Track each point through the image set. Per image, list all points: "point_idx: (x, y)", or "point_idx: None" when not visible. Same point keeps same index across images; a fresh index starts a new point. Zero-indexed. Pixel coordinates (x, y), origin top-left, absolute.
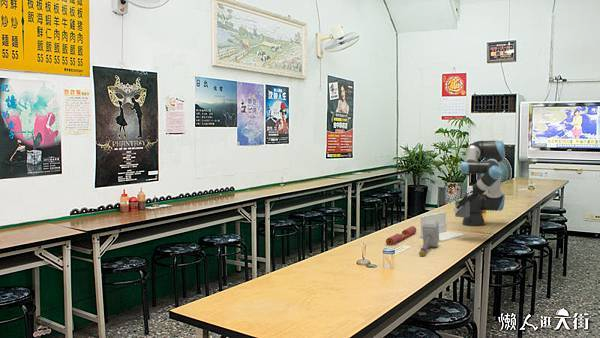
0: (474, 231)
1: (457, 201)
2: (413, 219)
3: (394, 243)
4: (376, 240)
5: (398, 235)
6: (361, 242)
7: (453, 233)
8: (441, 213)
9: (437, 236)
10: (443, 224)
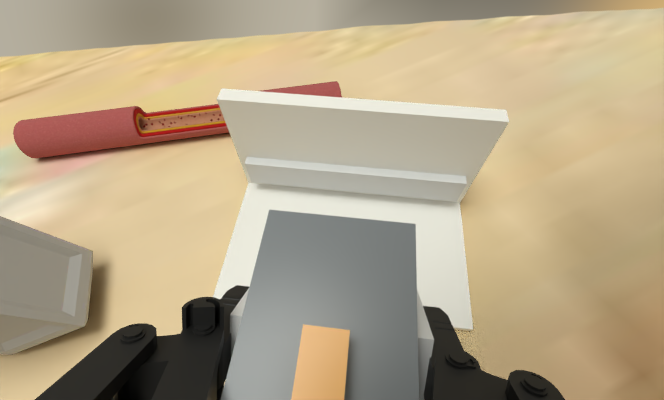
0: (626, 328)
1: (261, 253)
2: (579, 15)
3: (49, 155)
4: (129, 82)
5: (106, 124)
6: (77, 65)
7: (436, 262)
8: (449, 121)
9: (18, 325)
10: (440, 179)
